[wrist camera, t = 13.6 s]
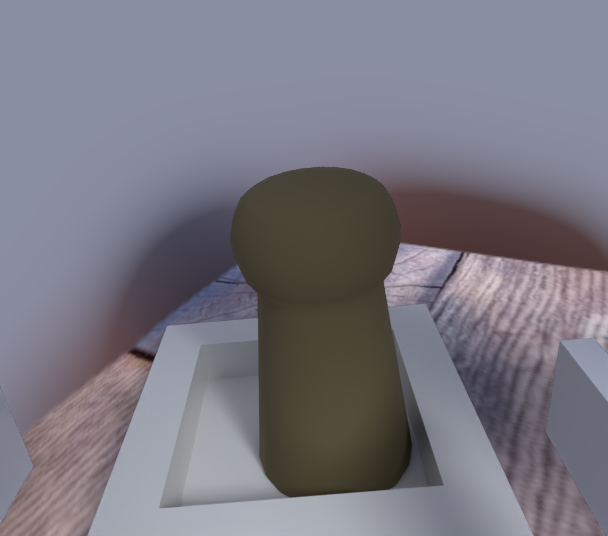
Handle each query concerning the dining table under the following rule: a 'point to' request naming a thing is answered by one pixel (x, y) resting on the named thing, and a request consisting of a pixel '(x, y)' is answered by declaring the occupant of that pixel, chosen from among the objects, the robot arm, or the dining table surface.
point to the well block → (247, 465)
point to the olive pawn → (324, 330)
